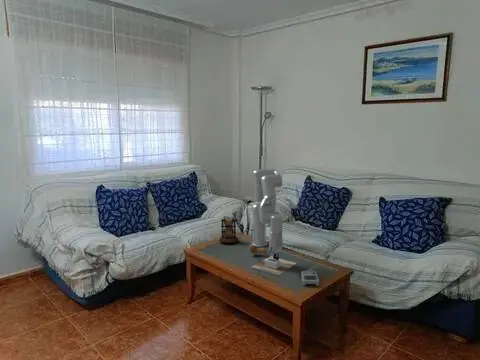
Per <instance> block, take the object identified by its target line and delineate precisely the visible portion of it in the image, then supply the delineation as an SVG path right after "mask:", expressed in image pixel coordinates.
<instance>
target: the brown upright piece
mask: <svg viewBox="0 0 480 360" xmlns="http://www.w3.org/2000/svg"><path fill="white" fill-rule="evenodd" d="M220 221H221V224H220V225H221V231H220V232H221V237H219V238H218V241H219V242H220V244H221V243H222V244H233V245H235V243H237V242H238V241H239V237H237V235H236V233H237V232H236V230H237V229H236V228H237V225H236V224H237V223H236V221H237V219H235V218H234V217H232V218H226V217H225V216H224V217H223V219H220Z"/></svg>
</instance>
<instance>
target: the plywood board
mask: <svg viewBox="0 0 480 360" xmlns="http://www.w3.org/2000/svg"><path fill="white" fill-rule="evenodd" d="M268 258H272V259H273V256H272V255H270V256H267V257H266V258H265V259H263V260H261V261H259V262H257V263H256V264H254V265H252V266H251V268H253V270H254V271H258V272H261V273H265V274H268V275H270V276H274V277H278V278H280V276H279V275H281V274H282V273H283V274H284V272H286V271H288V270H289V269H290V268H292V267H293V266H295V265H296V264H297V262H295V261H291V260H288V259H282V258H280V257H279V260H280V267H279V268H277V269H273V268H269V267H265V260H266V259H268ZM255 268H256V269H255ZM258 269H259V270H258ZM271 273H272V274H271Z"/></svg>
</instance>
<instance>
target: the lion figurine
mask: <svg viewBox="0 0 480 360" xmlns="http://www.w3.org/2000/svg"><path fill="white" fill-rule="evenodd" d="M248 251H249V252H250V253H251V254H253V255H254V257H256V255H257V254H262V255H263V256H264V257H266V258H268V257H269V254H268V253H269V252H268V251H267V249H266V248H264V247H262V248H261V247H257V246H254V245H252V244H249V245H248Z"/></svg>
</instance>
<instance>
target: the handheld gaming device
mask: <svg viewBox="0 0 480 360" xmlns="http://www.w3.org/2000/svg"><path fill="white" fill-rule="evenodd" d="M300 273H301V274H300V277H301V281H302V282H301V283H302V285H303V286H306V285H315V286H316V287H319V286H320V280H319V277H318V273H317V270H313V269H312V270H302V271H301V272H300Z"/></svg>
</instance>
